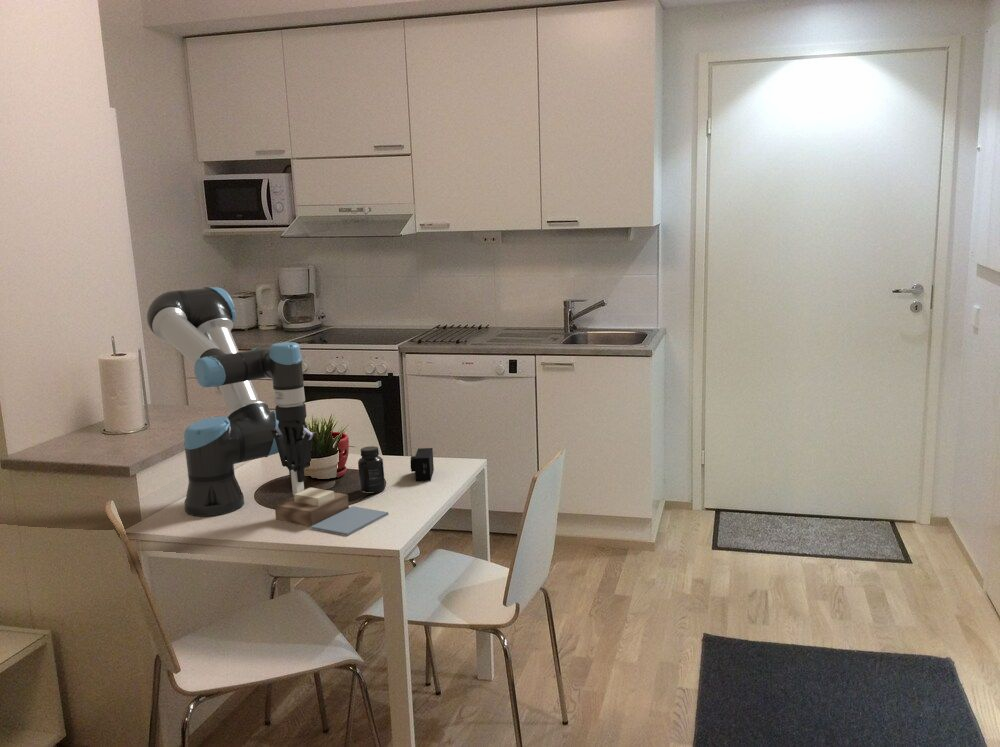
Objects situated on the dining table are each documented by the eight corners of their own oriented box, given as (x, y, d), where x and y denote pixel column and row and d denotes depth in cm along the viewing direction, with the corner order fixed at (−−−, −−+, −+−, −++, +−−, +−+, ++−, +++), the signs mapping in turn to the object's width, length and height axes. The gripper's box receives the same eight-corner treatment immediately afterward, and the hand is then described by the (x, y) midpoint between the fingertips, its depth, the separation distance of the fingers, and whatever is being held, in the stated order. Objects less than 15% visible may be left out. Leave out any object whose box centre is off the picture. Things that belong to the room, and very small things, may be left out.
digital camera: (415, 471, 263) (413, 448, 261) (433, 470, 263) (432, 447, 261) (411, 482, 252) (409, 458, 251) (430, 481, 252) (429, 457, 251)
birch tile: (294, 501, 227) (294, 494, 226) (310, 494, 232) (310, 487, 232) (318, 506, 223) (318, 498, 222) (334, 498, 228) (333, 491, 228)
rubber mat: (310, 528, 219) (310, 526, 219) (352, 508, 232) (352, 506, 232) (347, 535, 213) (347, 533, 213) (388, 514, 226) (388, 512, 226)
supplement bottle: (388, 486, 249) (385, 445, 247) (380, 494, 242) (377, 451, 240) (364, 486, 250) (361, 444, 248) (356, 494, 244) (353, 451, 241)
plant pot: (323, 485, 253) (320, 444, 250) (296, 477, 262) (293, 437, 259) (360, 473, 262) (357, 434, 260) (333, 466, 271) (330, 428, 269)
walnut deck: (276, 520, 226) (274, 505, 225) (313, 503, 238) (312, 488, 237) (312, 527, 220) (310, 511, 219) (348, 509, 232) (347, 494, 231)
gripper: (260, 405, 226) (269, 495, 230) (299, 408, 219) (307, 501, 223) (281, 399, 232) (290, 486, 236) (319, 402, 225) (327, 492, 229)
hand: (298, 493), depth 230 cm, fingers closed
